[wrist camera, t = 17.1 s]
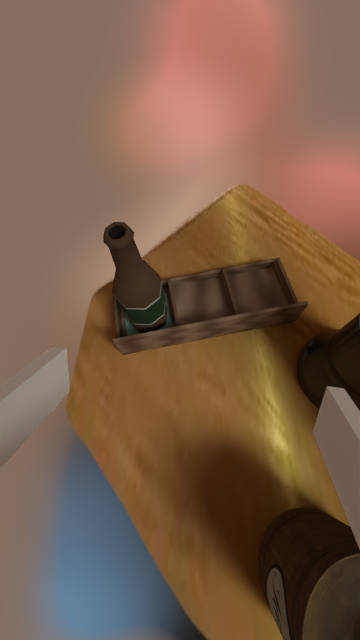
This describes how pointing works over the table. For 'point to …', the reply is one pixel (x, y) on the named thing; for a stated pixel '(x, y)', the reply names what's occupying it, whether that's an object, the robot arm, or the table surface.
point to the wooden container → (311, 576)
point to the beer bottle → (135, 281)
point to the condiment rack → (215, 306)
